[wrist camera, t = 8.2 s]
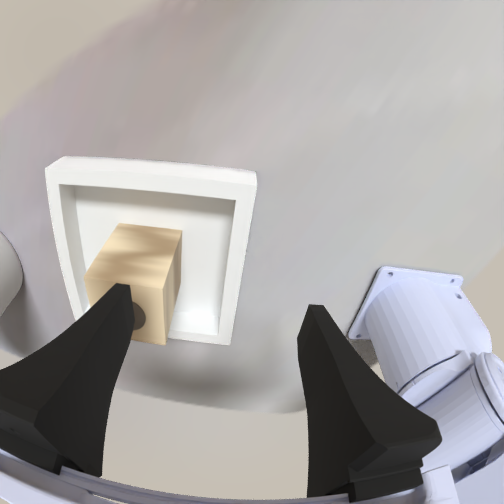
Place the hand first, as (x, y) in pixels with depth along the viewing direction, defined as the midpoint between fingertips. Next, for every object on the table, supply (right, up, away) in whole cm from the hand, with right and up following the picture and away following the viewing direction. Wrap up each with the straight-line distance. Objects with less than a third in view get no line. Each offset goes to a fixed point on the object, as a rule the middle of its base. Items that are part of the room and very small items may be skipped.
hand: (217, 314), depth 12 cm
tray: (-6, +3, +9) cm, 11 cm away
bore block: (-6, +2, +9) cm, 11 cm away
